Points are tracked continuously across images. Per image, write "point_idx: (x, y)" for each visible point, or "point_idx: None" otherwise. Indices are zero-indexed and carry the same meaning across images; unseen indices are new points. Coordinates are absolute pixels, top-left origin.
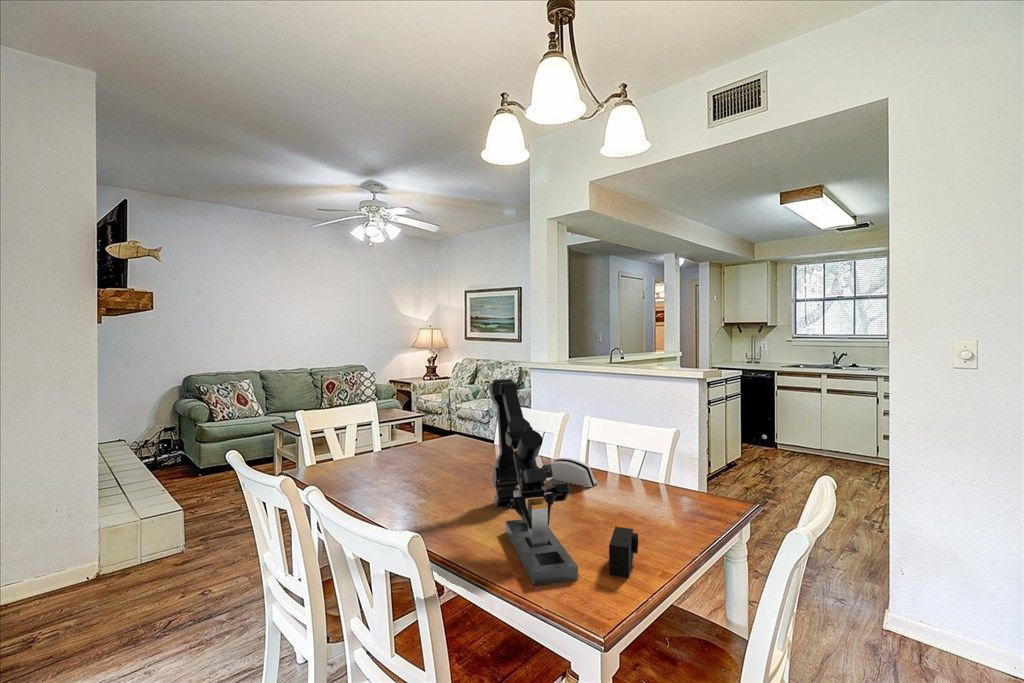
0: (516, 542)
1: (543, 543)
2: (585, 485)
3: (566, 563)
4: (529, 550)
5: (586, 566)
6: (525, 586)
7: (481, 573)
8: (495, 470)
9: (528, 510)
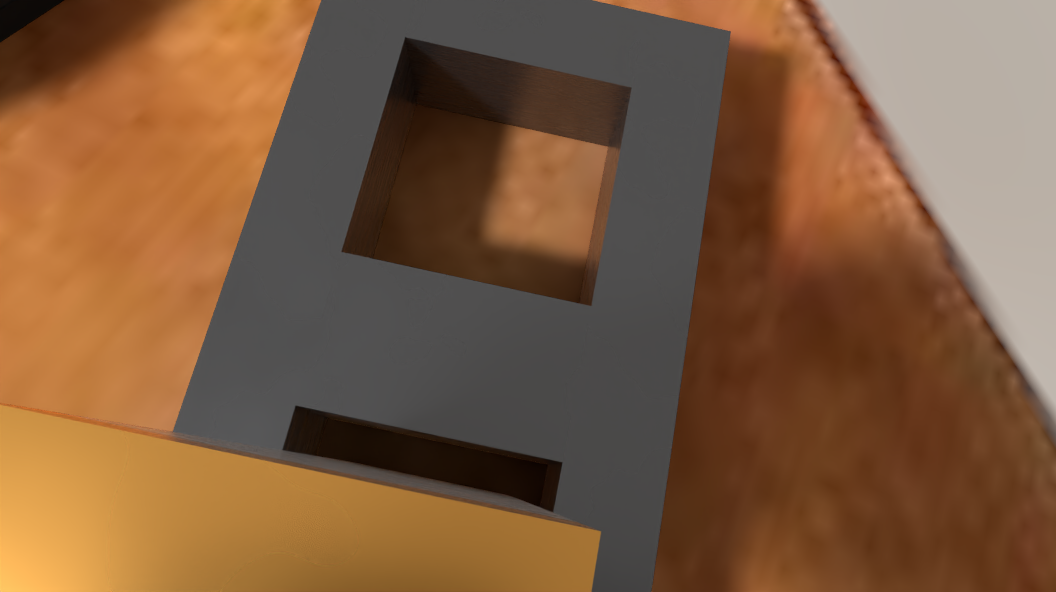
0: None
1: (376, 468)
2: None
3: (400, 22)
4: (595, 402)
5: (166, 145)
6: (750, 122)
7: (1019, 444)
8: None
9: None
